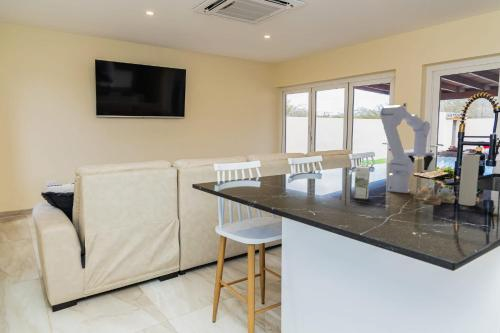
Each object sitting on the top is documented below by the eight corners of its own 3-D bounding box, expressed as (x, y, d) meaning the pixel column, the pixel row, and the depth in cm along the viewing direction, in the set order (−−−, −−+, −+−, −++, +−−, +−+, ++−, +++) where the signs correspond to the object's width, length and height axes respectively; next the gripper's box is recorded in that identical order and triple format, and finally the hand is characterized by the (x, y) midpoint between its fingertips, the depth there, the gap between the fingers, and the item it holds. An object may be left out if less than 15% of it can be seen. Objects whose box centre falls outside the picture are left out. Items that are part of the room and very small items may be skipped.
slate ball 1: (420, 194, 161) (420, 186, 160) (421, 193, 164) (422, 184, 164) (429, 195, 159) (430, 187, 158) (430, 194, 162) (431, 185, 162)
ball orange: (418, 196, 157) (419, 187, 156) (420, 194, 160) (420, 186, 160) (428, 197, 155) (429, 188, 154) (429, 195, 158) (430, 187, 157)
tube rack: (413, 198, 156) (413, 190, 155) (417, 194, 167) (417, 186, 166) (454, 203, 147) (454, 194, 147) (455, 198, 158) (456, 189, 158)
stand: (422, 203, 147) (423, 198, 147) (424, 200, 153) (425, 195, 152) (439, 205, 144) (440, 200, 144) (441, 202, 149) (441, 197, 149)
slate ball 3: (439, 196, 157) (440, 187, 156) (440, 195, 160) (441, 186, 159) (449, 197, 154) (450, 188, 154) (450, 196, 158) (451, 187, 157)
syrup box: (368, 197, 158) (370, 166, 156) (367, 199, 153) (368, 167, 151) (355, 196, 160) (357, 165, 159) (353, 198, 155) (355, 166, 153)
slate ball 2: (438, 198, 152) (439, 189, 152) (439, 196, 156) (440, 188, 155) (449, 199, 150) (449, 190, 150) (449, 198, 154) (450, 189, 153)
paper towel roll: (469, 206, 141) (474, 155, 139) (455, 203, 147) (459, 153, 144) (479, 205, 145) (484, 154, 142) (465, 202, 150) (469, 153, 147)
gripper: (410, 144, 174) (408, 171, 176) (438, 144, 175) (436, 171, 176) (403, 143, 181) (402, 169, 183) (430, 144, 182) (428, 169, 183)
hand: (418, 170), depth 180 cm, fingers open, 7 cm apart
